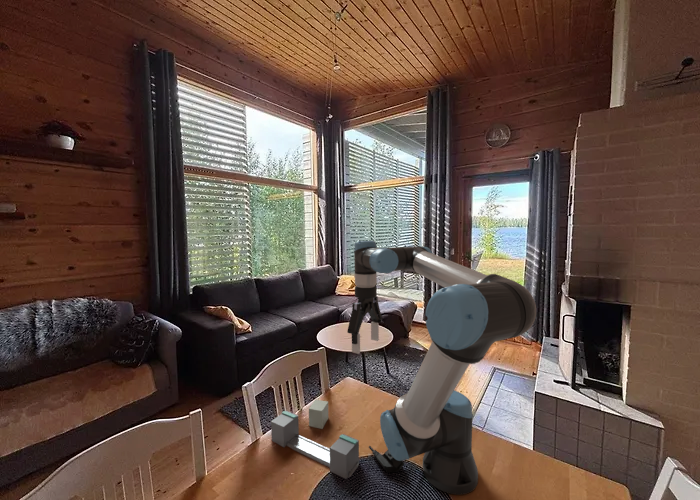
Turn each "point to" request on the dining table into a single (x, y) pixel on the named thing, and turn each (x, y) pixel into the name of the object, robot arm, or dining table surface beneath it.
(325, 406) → the block
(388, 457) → the power plug
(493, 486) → the dining table surface
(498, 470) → the dining table surface
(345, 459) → the block
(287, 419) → the block
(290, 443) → the rail
